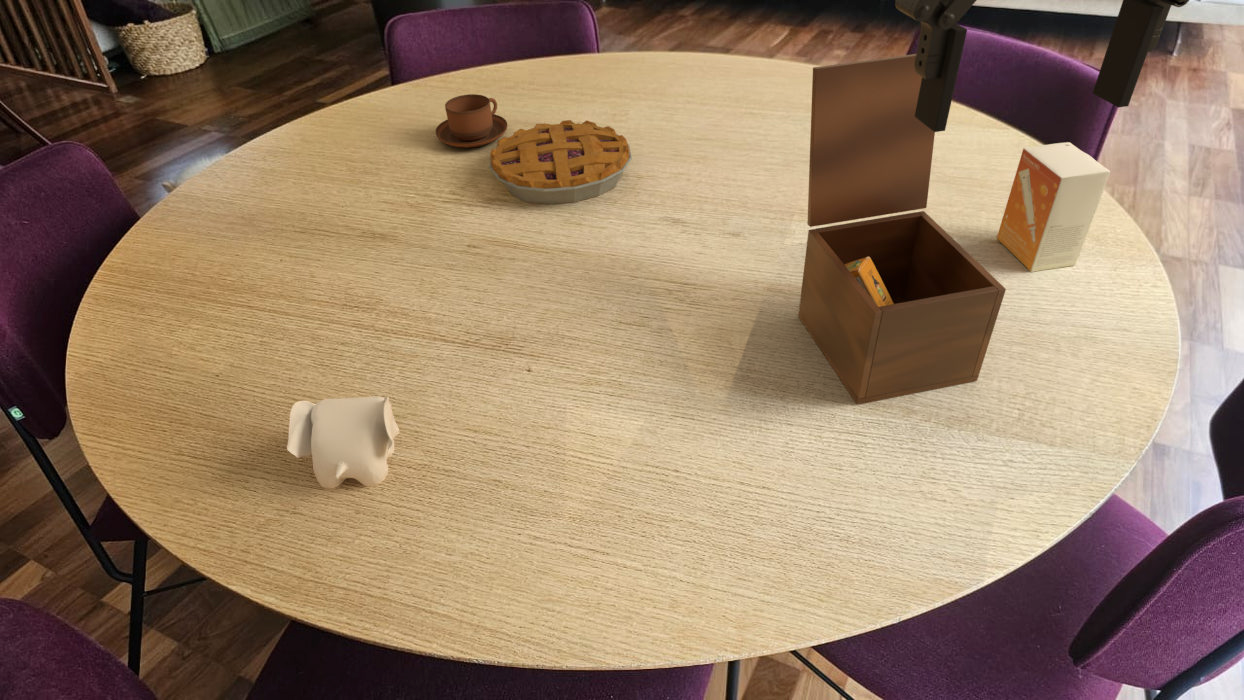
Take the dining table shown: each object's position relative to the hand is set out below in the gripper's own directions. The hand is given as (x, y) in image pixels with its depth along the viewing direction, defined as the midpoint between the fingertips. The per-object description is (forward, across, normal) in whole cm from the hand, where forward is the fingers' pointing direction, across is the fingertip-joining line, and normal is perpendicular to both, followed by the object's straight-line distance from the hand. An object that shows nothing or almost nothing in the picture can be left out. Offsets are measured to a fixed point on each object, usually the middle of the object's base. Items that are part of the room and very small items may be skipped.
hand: (1021, 112), depth 55 cm
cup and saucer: (+34, +37, -86) cm, 99 cm away
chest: (+34, -4, -17) cm, 38 cm away
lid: (+14, -4, -25) cm, 29 cm away
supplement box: (+33, -4, -15) cm, 36 cm away
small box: (+34, -31, -29) cm, 54 cm away
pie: (+34, +24, -68) cm, 80 cm away
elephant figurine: (+35, +52, -13) cm, 64 cm away
